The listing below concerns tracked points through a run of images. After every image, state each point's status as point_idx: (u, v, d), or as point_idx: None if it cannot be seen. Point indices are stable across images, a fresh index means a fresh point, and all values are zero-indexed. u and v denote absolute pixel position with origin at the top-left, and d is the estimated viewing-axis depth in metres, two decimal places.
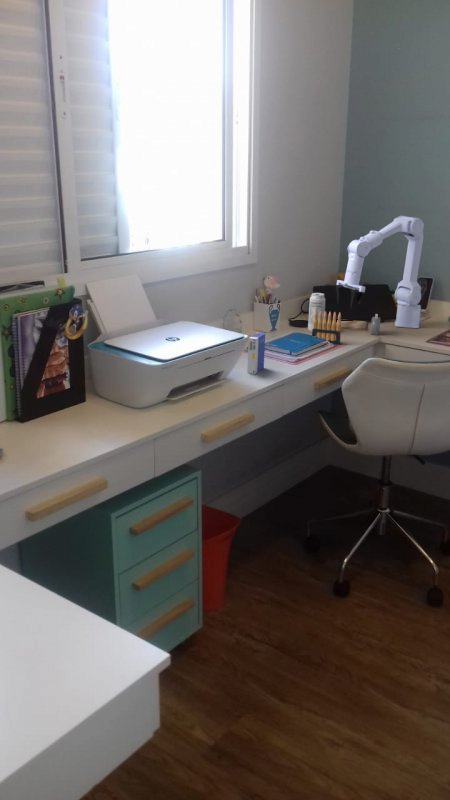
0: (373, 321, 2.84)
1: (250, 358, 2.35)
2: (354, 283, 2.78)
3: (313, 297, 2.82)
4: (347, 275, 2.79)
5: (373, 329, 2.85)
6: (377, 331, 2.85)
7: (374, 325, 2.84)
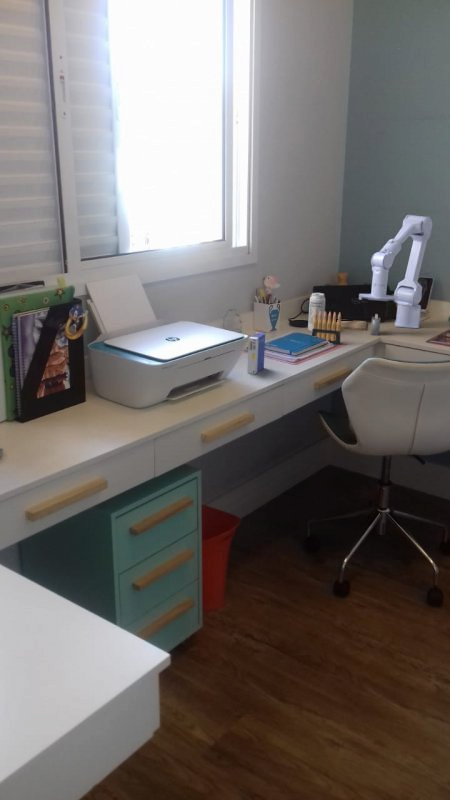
0: (373, 321, 2.84)
1: (250, 358, 2.35)
2: (385, 295, 2.82)
3: (313, 297, 2.82)
4: (379, 289, 2.79)
5: (373, 329, 2.85)
6: (377, 331, 2.85)
7: (374, 325, 2.84)
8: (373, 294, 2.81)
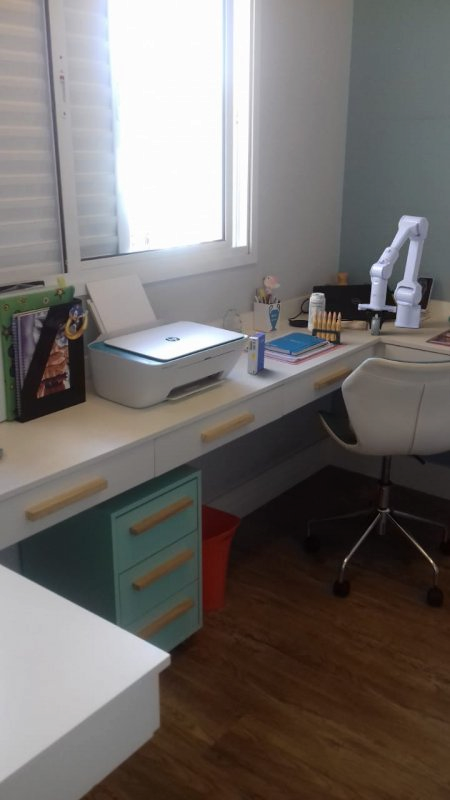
0: (373, 321, 2.84)
1: (250, 358, 2.35)
2: (384, 305, 2.83)
3: (313, 297, 2.82)
4: (378, 300, 2.81)
5: (373, 329, 2.85)
6: (377, 331, 2.85)
7: (374, 325, 2.84)
8: (372, 304, 2.83)
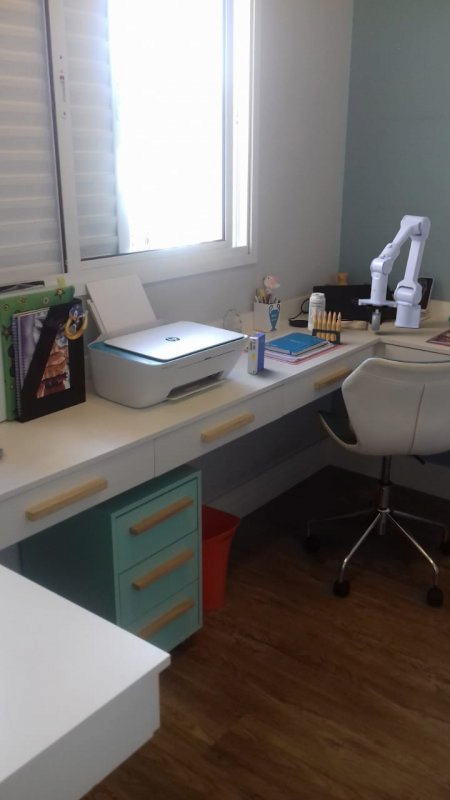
0: (374, 316, 2.83)
1: (250, 358, 2.35)
2: (385, 300, 2.82)
3: (313, 297, 2.82)
4: (378, 295, 2.80)
5: (374, 324, 2.84)
6: (378, 326, 2.84)
7: (375, 320, 2.83)
8: (373, 300, 2.82)
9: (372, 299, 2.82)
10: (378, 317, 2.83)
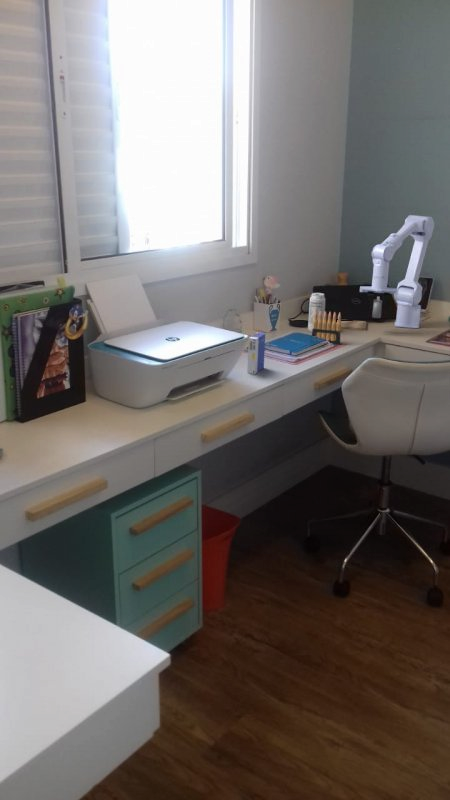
0: (375, 303, 2.82)
1: (250, 358, 2.35)
2: (386, 287, 2.81)
3: (313, 297, 2.82)
4: (380, 281, 2.78)
5: (375, 311, 2.82)
6: (379, 313, 2.82)
7: (376, 307, 2.82)
8: (374, 287, 2.80)
9: (373, 286, 2.80)
10: (379, 304, 2.81)
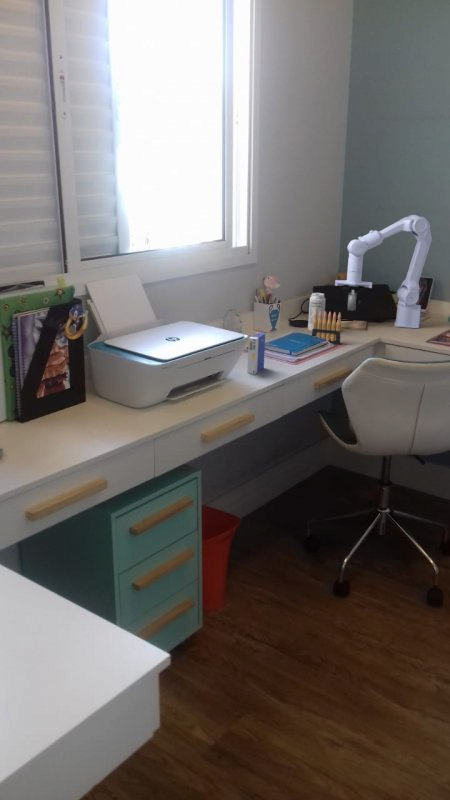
0: (349, 296, 2.92)
1: (250, 358, 2.35)
2: (360, 281, 2.92)
3: (313, 297, 2.82)
4: (354, 275, 2.89)
5: (350, 304, 2.93)
6: (353, 306, 2.93)
7: (350, 300, 2.93)
8: (348, 280, 2.91)
9: (348, 280, 2.91)
10: (354, 297, 2.92)
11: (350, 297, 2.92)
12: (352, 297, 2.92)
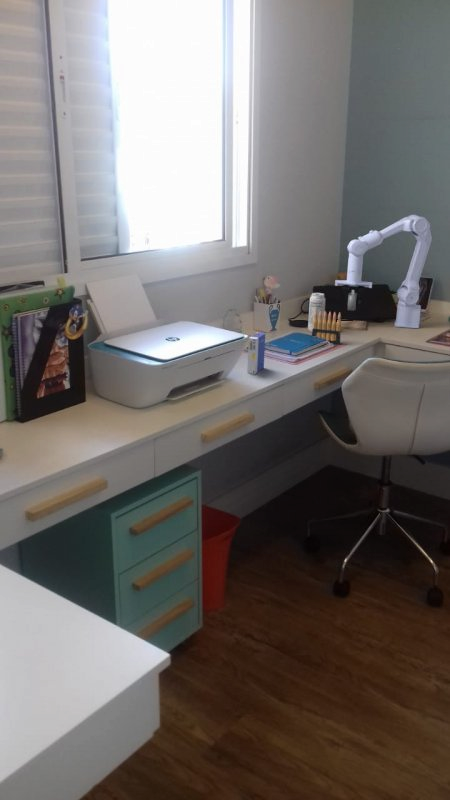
0: (349, 296, 2.92)
1: (250, 358, 2.35)
2: (360, 281, 2.92)
3: (313, 297, 2.82)
4: (354, 275, 2.89)
5: (350, 304, 2.93)
6: (353, 306, 2.93)
7: (350, 300, 2.93)
8: (348, 280, 2.91)
9: (348, 280, 2.91)
10: (354, 297, 2.92)
11: (350, 297, 2.92)
12: (352, 297, 2.92)
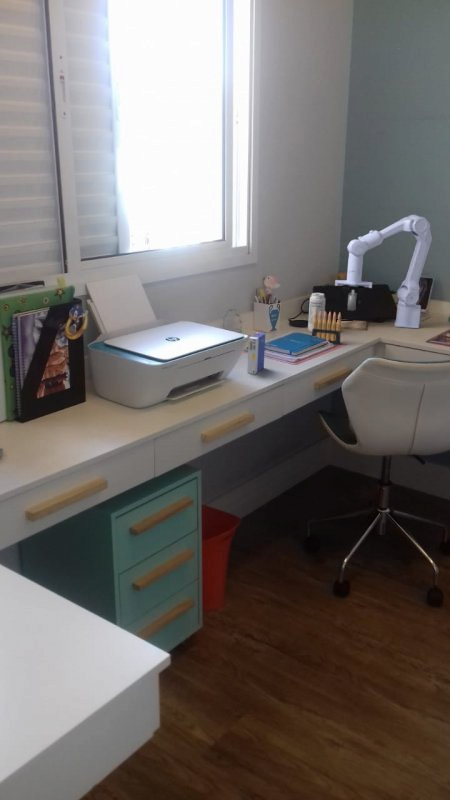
0: (349, 296, 2.92)
1: (250, 358, 2.35)
2: (360, 281, 2.92)
3: (313, 297, 2.82)
4: (354, 275, 2.89)
5: (350, 304, 2.93)
6: (353, 306, 2.93)
7: (350, 300, 2.93)
8: (348, 280, 2.91)
9: (348, 280, 2.91)
10: (354, 297, 2.92)
11: (350, 297, 2.92)
12: (352, 297, 2.92)
